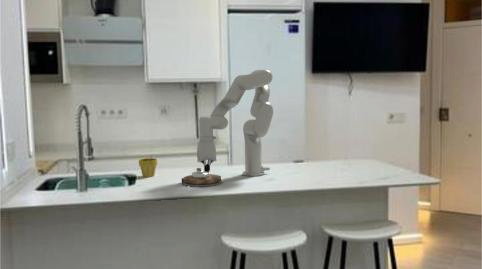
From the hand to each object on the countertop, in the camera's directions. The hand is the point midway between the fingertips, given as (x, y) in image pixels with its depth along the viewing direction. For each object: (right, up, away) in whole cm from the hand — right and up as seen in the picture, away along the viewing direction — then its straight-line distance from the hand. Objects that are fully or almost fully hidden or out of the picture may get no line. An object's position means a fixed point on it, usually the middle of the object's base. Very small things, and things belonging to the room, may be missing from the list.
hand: (207, 172), depth 270 cm
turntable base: (-2, -5, -9) cm, 11 cm away
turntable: (-2, -4, -9) cm, 10 cm away
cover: (-3, -2, -10) cm, 11 cm away
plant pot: (-35, -4, +13) cm, 37 cm away
